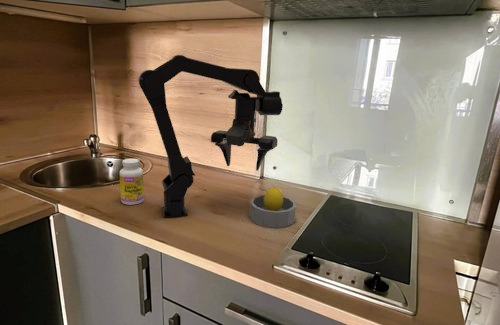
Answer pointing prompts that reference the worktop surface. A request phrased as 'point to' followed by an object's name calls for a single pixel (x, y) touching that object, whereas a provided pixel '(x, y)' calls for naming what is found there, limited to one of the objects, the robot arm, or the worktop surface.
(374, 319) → the worktop surface
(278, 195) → the lemon
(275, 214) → the bowl
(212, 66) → the robot arm
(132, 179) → the supplement bottle
